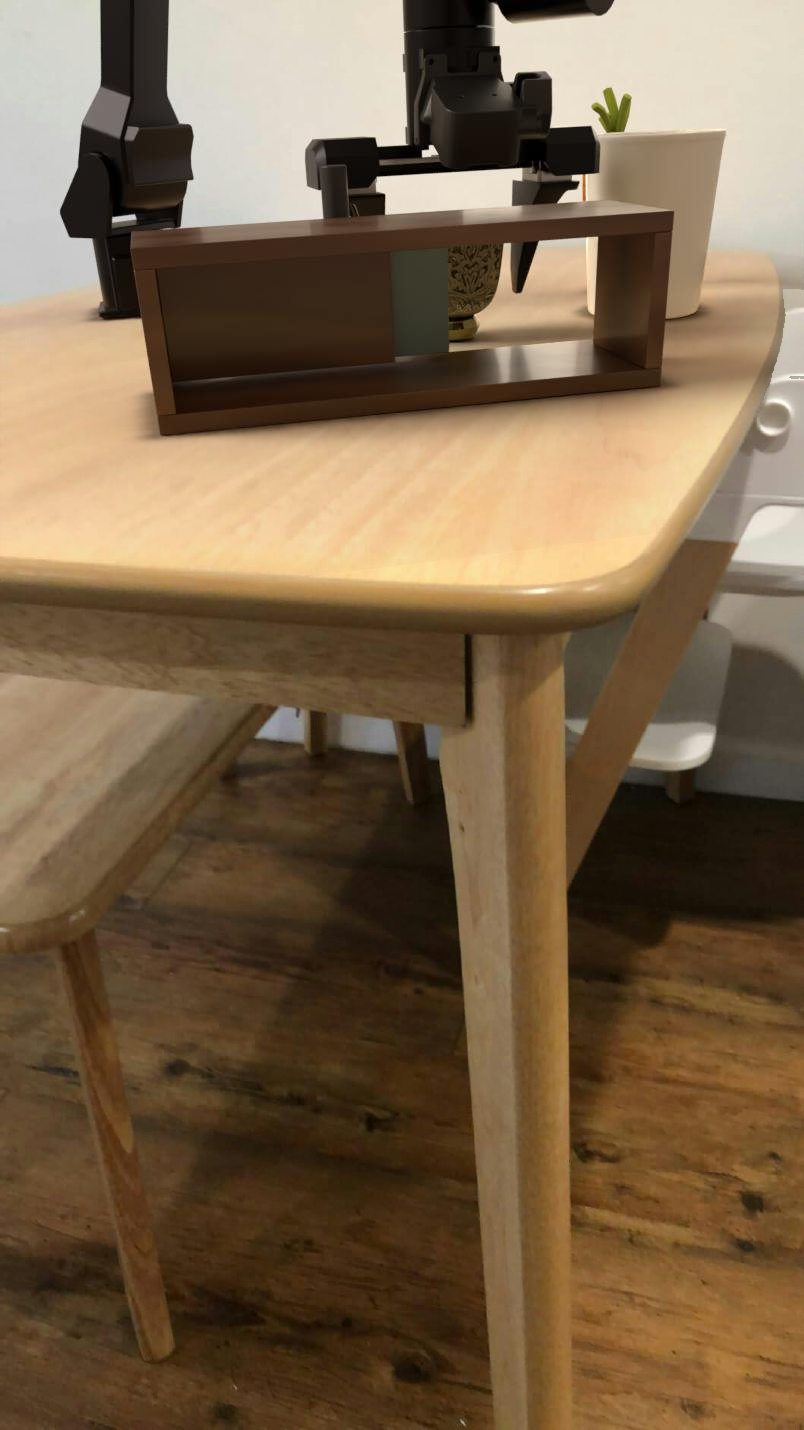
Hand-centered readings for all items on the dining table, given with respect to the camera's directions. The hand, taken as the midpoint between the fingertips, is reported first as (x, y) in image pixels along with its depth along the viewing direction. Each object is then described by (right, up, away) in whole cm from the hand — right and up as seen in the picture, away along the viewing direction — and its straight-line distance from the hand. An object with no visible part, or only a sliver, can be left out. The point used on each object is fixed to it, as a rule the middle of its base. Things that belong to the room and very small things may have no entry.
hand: (453, 297), depth 73 cm
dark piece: (-8, -7, -8) cm, 13 cm away
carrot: (+14, +8, +18) cm, 24 cm away
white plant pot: (+15, +2, +7) cm, 17 cm away
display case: (-3, -11, -13) cm, 17 cm away
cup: (0, -2, +1) cm, 3 cm away
